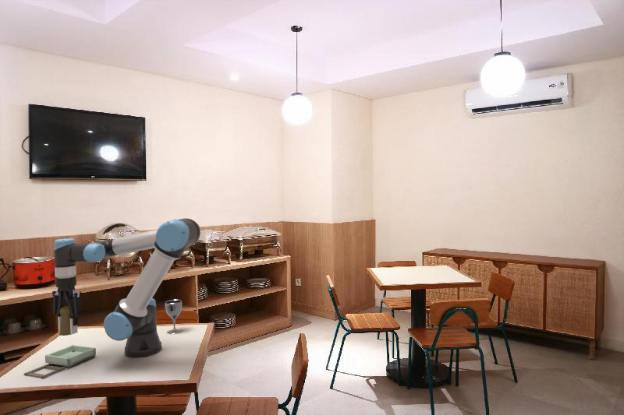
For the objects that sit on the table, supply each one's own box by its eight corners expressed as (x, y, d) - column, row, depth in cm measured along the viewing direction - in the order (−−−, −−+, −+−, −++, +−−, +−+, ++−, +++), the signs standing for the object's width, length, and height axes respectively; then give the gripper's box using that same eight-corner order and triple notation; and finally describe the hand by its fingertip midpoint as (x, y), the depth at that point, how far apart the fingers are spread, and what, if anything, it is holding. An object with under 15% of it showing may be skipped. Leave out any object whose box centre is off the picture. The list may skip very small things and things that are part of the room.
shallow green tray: (95, 354, 184) (95, 347, 184) (68, 366, 172) (68, 358, 172) (73, 351, 189) (72, 344, 189) (45, 362, 177) (45, 355, 177)
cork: (55, 335, 177) (54, 308, 177) (67, 330, 183) (66, 304, 183) (68, 336, 176) (67, 308, 176) (79, 331, 182) (78, 305, 181)
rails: (94, 356, 185) (94, 355, 185) (44, 378, 163) (44, 376, 163) (75, 354, 189) (75, 352, 189) (23, 375, 167) (23, 373, 167)
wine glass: (168, 329, 220) (167, 300, 220) (184, 328, 221) (183, 299, 221) (164, 334, 213) (163, 303, 212) (181, 333, 213) (180, 303, 213)
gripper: (90, 275, 179) (93, 331, 180) (57, 274, 186) (59, 327, 186) (74, 279, 172) (77, 337, 173) (40, 277, 179) (43, 333, 179)
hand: (68, 332), depth 179 cm, fingers closed on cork, 6 cm apart
